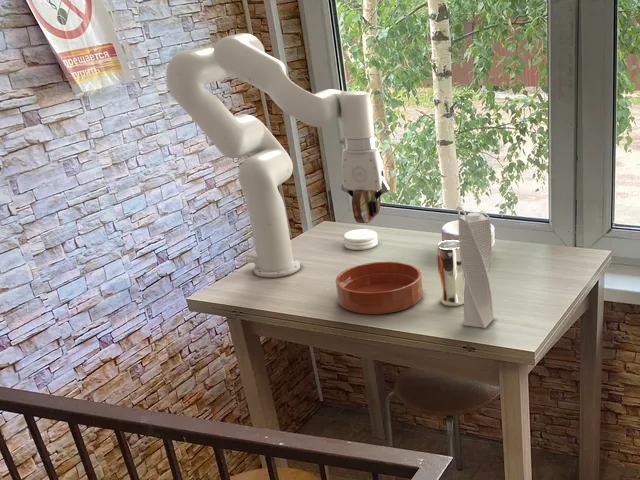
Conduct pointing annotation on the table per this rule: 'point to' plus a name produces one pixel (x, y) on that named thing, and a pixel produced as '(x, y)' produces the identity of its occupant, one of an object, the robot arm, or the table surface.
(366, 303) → the bowl
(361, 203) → the tin
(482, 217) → the skyscraper
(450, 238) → the paper bowls
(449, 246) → the chrome tumbler
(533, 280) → the table surface
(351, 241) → the coaster
